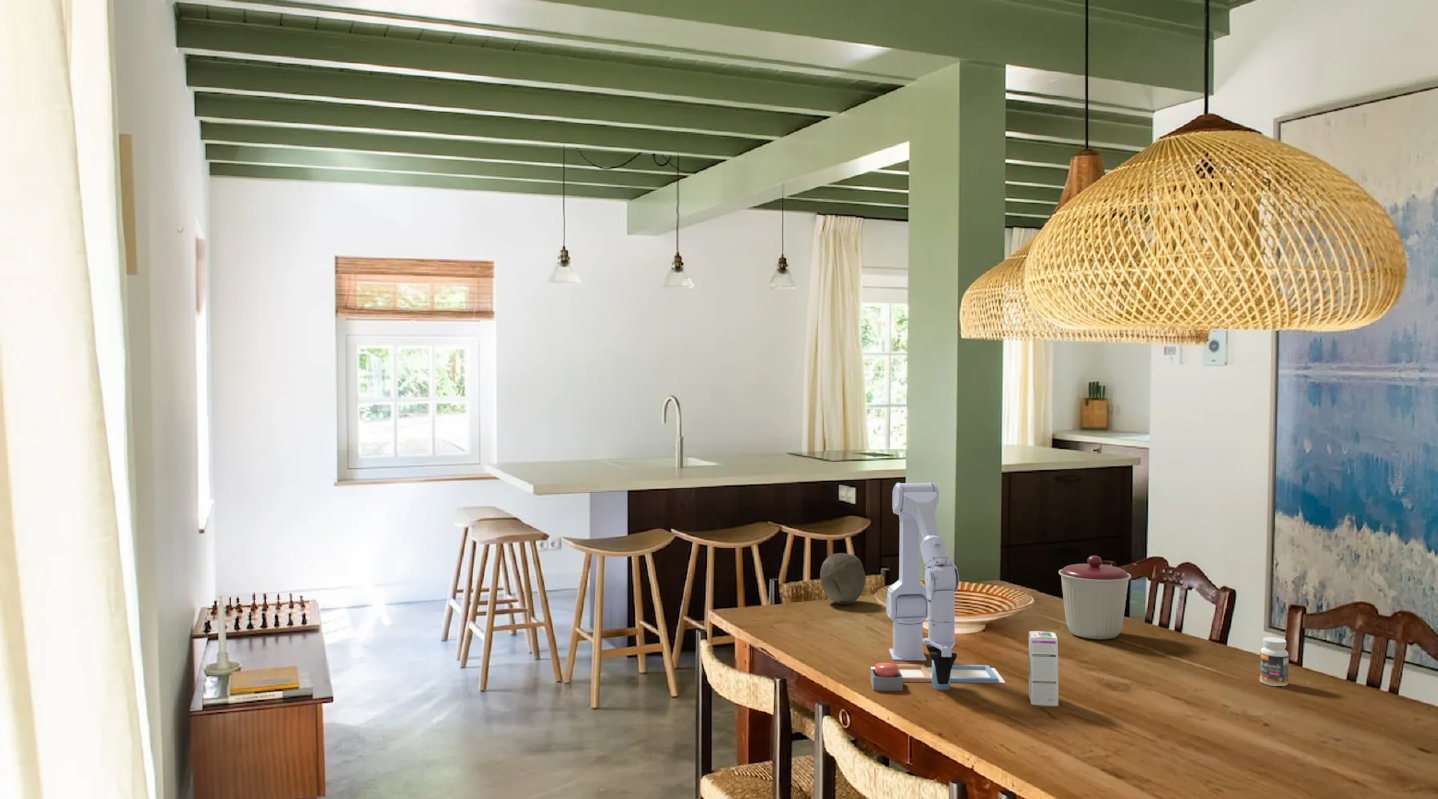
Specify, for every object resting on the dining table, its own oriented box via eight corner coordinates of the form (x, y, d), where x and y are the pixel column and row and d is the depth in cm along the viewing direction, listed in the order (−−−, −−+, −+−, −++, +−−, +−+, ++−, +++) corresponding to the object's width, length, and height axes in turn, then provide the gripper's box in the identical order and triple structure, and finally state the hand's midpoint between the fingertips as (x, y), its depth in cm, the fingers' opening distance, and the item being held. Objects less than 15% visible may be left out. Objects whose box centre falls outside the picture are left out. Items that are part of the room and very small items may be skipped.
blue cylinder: (930, 685, 239) (930, 655, 238) (948, 685, 238) (948, 656, 238) (933, 690, 235) (933, 660, 234) (951, 690, 234) (951, 661, 234)
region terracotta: (877, 667, 252) (877, 664, 252) (924, 667, 252) (924, 664, 252) (882, 681, 241) (882, 677, 241) (931, 681, 241) (931, 678, 241)
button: (873, 671, 240) (873, 662, 240) (896, 671, 240) (896, 662, 240) (876, 677, 235) (876, 668, 235) (899, 678, 235) (899, 669, 235)
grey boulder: (876, 604, 318) (876, 554, 318) (837, 610, 311) (837, 559, 311) (847, 596, 330) (847, 547, 330) (809, 601, 323) (809, 552, 323)
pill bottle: (1256, 683, 239) (1256, 639, 239) (1264, 678, 243) (1264, 635, 243) (1283, 689, 235) (1284, 644, 235) (1291, 683, 239) (1292, 639, 239)
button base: (870, 682, 241) (870, 669, 241) (899, 682, 241) (899, 669, 240) (873, 690, 234) (873, 677, 234) (902, 691, 234) (902, 677, 234)
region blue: (941, 668, 251) (941, 664, 251) (988, 668, 251) (988, 665, 251) (949, 681, 240) (949, 678, 240) (998, 682, 240) (998, 678, 240)
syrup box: (1059, 707, 223) (1059, 638, 223) (1029, 705, 224) (1030, 636, 224) (1056, 698, 229) (1056, 631, 228) (1027, 696, 230) (1028, 630, 230)
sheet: (870, 667, 253) (870, 666, 253) (994, 668, 251) (994, 668, 251) (875, 681, 241) (875, 681, 241) (1005, 683, 240) (1005, 682, 240)
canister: (1122, 647, 270) (1123, 564, 269) (1050, 637, 280) (1050, 557, 279) (1136, 632, 285) (1137, 553, 285) (1067, 623, 295) (1068, 547, 294)
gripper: (918, 612, 243) (918, 671, 244) (928, 627, 229) (927, 690, 229) (949, 612, 243) (949, 671, 244) (961, 627, 229) (961, 690, 229)
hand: (941, 680), depth 236 cm, fingers closed on blue cylinder, 4 cm apart
